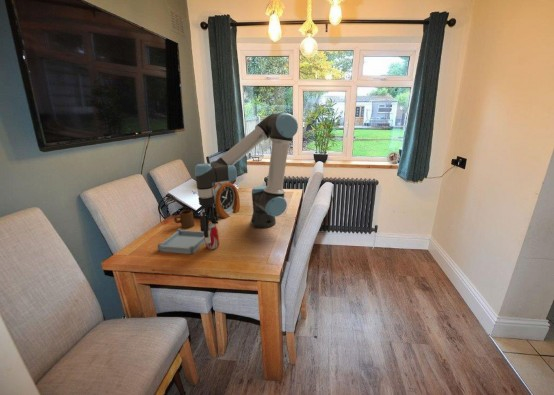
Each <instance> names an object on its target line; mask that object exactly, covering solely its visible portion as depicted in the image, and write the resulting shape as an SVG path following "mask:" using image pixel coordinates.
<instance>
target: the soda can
mask: <svg viewBox="0 0 554 395" xmlns="http://www.w3.org/2000/svg"><path fill="white" fill-rule="evenodd" d="M216 225H217V224H214V223H212V222H209V230H210V238H211V243H204V244H205V247H206V249H208V250H216V249H217V248H218V247H219V246H220V238H219V231H218V226H216ZM204 239H205V236H204Z"/></svg>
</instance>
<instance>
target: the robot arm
mask: <svg viewBox="0 0 554 395" xmlns="http://www.w3.org/2000/svg"><path fill="white" fill-rule="evenodd" d="M298 128H299V123H298V121H297V118H295V116H294V115H292V114H290V113H286V112H282V113H280V112H279V113H271V114H269V115H267V116H266V117H264V118H263V119H262V120H261V121H260V122H258V123H257V124H256V125H255V126H254V129H253V130H252V131H250V132H249V133H248V134H247V135H246V136H245V137H243V138H242V139H241V140H240V141H238V142H237V143H236V144H235V145H234V146H232V147H231V148H230V149H228V151H226V152H225V153H224V154H222V155H221V156H220V157H219V158H218V159H217V160H213V161H210V162H209V163H208V162H207V163H199V164H196V165H195V166H194V177H195V183H196V191H197V196H198V204H199V206H201V211H199V212H198V216H199V222H200V225H199V226H200V231H201V232H204V236H205V243H211V238H210V230H209V223H214V224H216V226H217V224H219V216H218V215H217V210H216V203H215V197H214V189H213V187H214V183H215V184H217V183H219V182H224V181H227V182H231V181H234V180H236V179H237V177H238V171H237V167H236V166H235V165H236V164H237V163H238V162H239V161H240V160H242V159H243V158H244V157H245V156H246V155H248V154H249V153H250V152H251V151H252V150H253V149H255V148H256V147H257V146H258V145H259V144H260V143H262V142H263V141H267V140H268V139H269V140H270V141H271V142H272V143H271V149H270V150H271V151H270V159H269V168H268V175H267V183H266V184H267V185H261V186H256V187H253V188H252V189H251V199H252V215H251V219H250V224H251V226H252V227H253V228H257V229H266V228H270V227H273V226H275V225H276V223H277V221H276V217H279V216H281V215H283V214H284V213H285V212H286V210H287V206H288V203H287V200H286V199H285V194H286V191H285V190H284V189H283V188H284V180H285V173H286V171H285V170H286V165H287V160H288V159H287V158H288V153H289V152H288V151H289V145H290V144H291V143H292V142H293V138H294V136H295V135H296V134H297V133H298ZM217 227H218V226H217ZM205 243H204V244H205Z"/></svg>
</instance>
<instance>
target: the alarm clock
mask: <svg viewBox="0 0 554 395" xmlns="http://www.w3.org/2000/svg"><path fill="white" fill-rule="evenodd" d="M213 189H214V197H215V203H216V210H217V215H218V218H221V219H228V218H230V217H231V214H237V213H239V212H240V208H241V198H240V195H239V191H238V189H237V187H236V186H235V184H233V183H231V182H228V181H224V182H217V183H215V184H213Z"/></svg>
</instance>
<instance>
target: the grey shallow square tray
mask: <svg viewBox="0 0 554 395" xmlns="http://www.w3.org/2000/svg"><path fill="white" fill-rule="evenodd" d="M204 244H205V239H204V232H201V230H188V229H187V230H186V229H182V228H178V229H177V231H175V233H173V234H172V235H170V236H169V237H168V238H166V239H165V240H164V241H162V242H158V244H157V248H158V252H165V253H173V254H175V253H176V254H186V255H194V254H195V253H196V252H197V251H198V250H199V249H200V248H201V247H202V246H203V245H204Z"/></svg>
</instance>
